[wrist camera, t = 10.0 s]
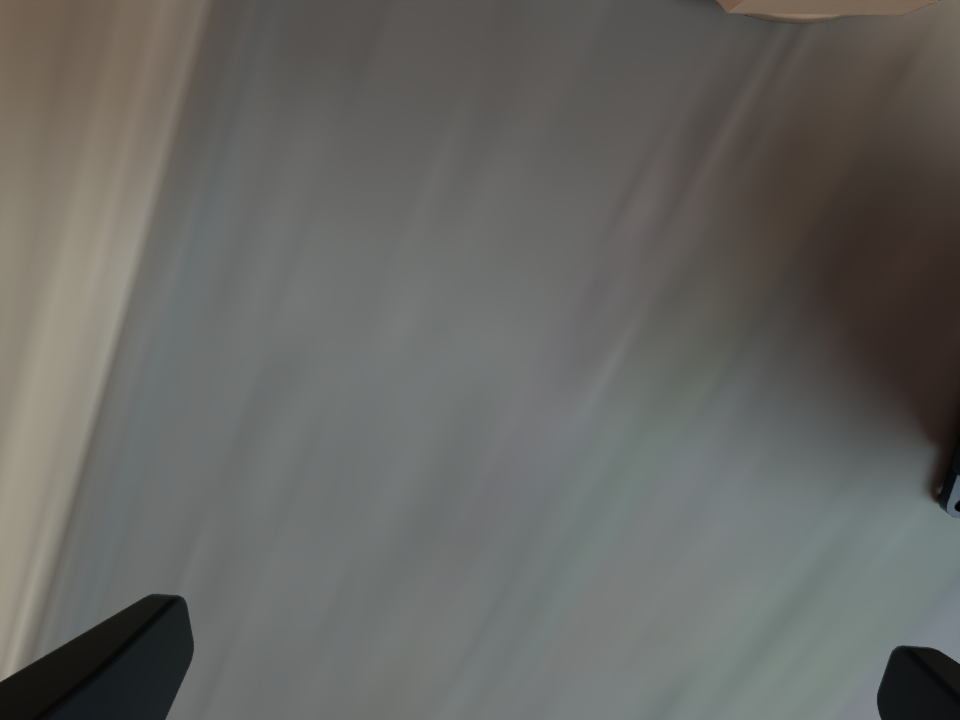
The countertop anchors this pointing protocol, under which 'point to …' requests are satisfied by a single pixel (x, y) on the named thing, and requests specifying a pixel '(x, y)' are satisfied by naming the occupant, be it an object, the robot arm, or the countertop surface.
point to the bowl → (819, 8)
